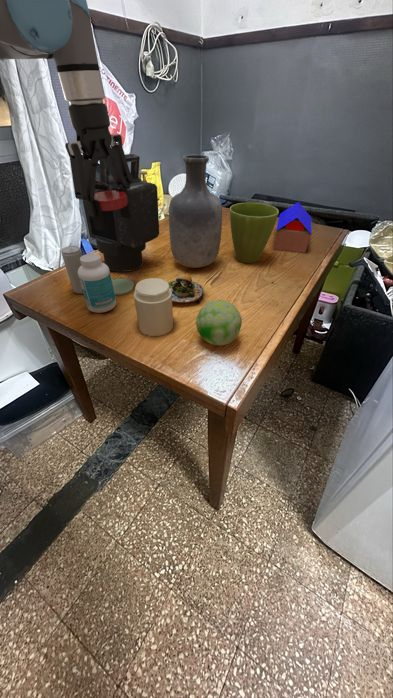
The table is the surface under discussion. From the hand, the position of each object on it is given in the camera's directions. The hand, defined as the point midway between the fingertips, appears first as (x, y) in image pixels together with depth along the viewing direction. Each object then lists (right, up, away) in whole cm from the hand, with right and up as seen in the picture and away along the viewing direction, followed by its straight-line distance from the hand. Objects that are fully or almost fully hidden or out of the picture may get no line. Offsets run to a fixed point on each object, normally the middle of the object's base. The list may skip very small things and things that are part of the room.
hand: (113, 223), depth 71 cm
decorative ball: (+25, -29, -5) cm, 39 cm away
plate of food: (+17, -16, +9) cm, 25 cm away
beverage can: (-12, -15, +11) cm, 22 cm away
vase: (+20, -3, +25) cm, 32 cm away
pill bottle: (-4, -20, +5) cm, 21 cm away
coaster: (-2, -13, +12) cm, 18 cm away
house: (+57, +11, +40) cm, 71 cm away
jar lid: (0, +4, -4) cm, 6 cm away
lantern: (-2, -3, +23) cm, 24 cm away
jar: (+11, -25, -1) cm, 28 cm away
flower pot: (+38, 0, +28) cm, 47 cm away
